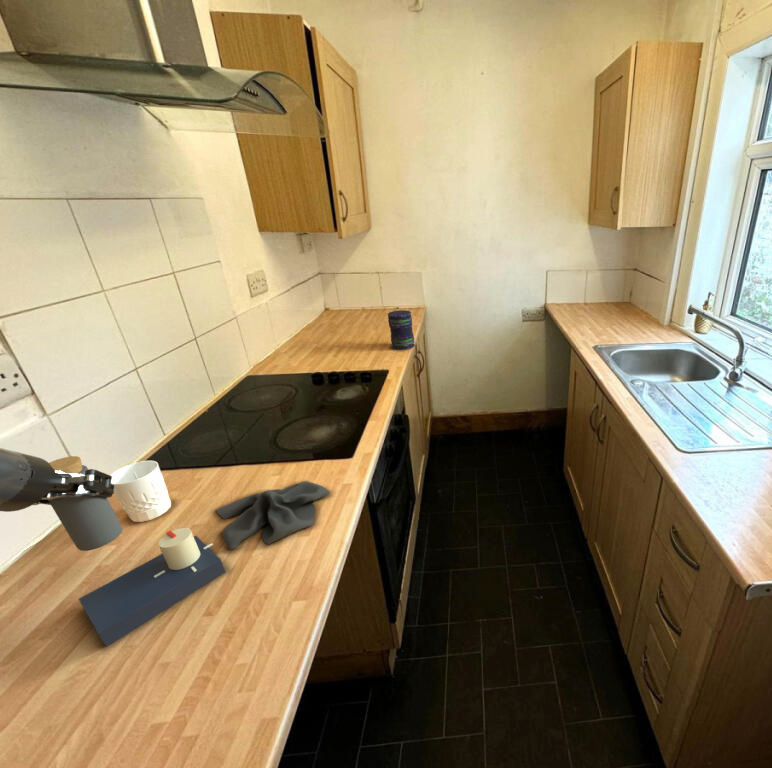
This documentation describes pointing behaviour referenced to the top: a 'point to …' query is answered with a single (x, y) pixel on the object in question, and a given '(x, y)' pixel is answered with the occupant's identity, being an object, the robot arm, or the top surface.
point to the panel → (146, 593)
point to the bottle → (85, 512)
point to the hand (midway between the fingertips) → (86, 494)
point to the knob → (179, 548)
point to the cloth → (272, 513)
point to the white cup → (141, 490)
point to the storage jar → (401, 329)
